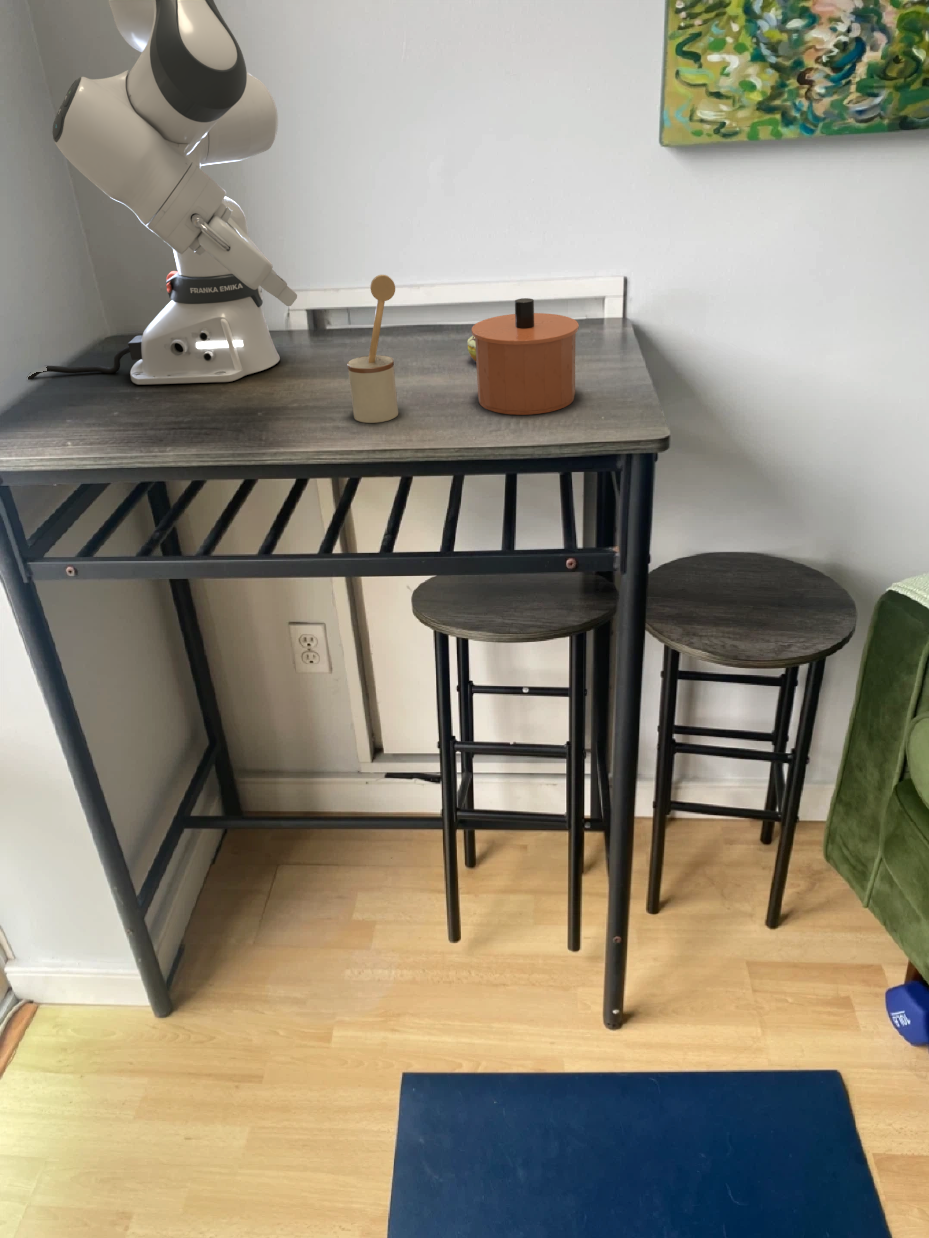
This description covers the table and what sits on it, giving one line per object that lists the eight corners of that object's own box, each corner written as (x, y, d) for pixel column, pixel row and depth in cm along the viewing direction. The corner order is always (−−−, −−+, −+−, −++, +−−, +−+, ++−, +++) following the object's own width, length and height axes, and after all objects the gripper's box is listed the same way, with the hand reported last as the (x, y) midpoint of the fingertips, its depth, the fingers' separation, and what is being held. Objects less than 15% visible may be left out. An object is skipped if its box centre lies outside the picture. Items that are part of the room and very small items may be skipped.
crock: (353, 425, 120) (336, 284, 111) (353, 410, 125) (336, 274, 116) (407, 420, 120) (395, 279, 111) (404, 405, 125) (392, 269, 116)
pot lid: (479, 354, 114) (477, 317, 112) (465, 326, 126) (464, 293, 123) (589, 344, 115) (590, 308, 113) (566, 317, 127) (566, 284, 124)
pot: (486, 419, 119) (482, 347, 114) (473, 388, 130) (469, 322, 125) (583, 409, 120) (584, 338, 115) (563, 380, 131) (563, 314, 126)
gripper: (212, 195, 98) (317, 286, 104) (203, 186, 115) (294, 264, 122) (176, 244, 99) (282, 331, 105) (173, 228, 116) (264, 303, 123)
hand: (288, 295), depth 114 cm, fingers open, 8 cm apart
